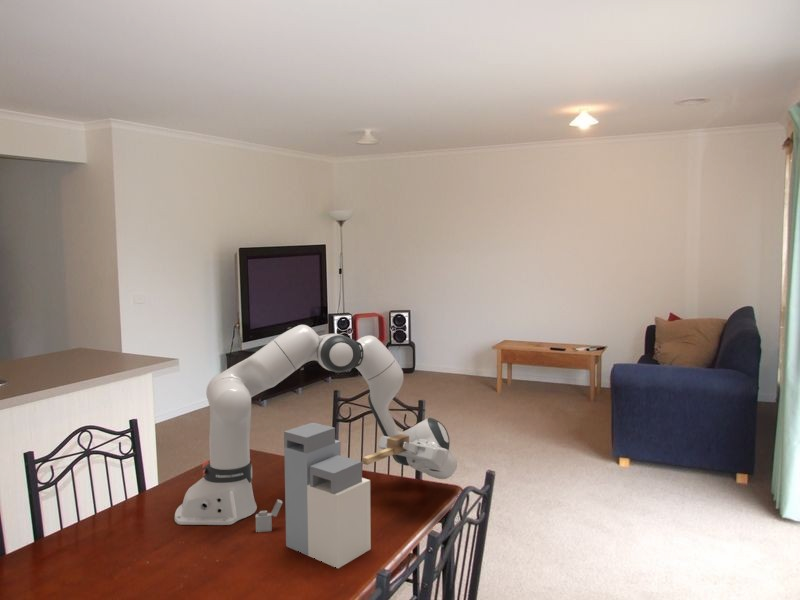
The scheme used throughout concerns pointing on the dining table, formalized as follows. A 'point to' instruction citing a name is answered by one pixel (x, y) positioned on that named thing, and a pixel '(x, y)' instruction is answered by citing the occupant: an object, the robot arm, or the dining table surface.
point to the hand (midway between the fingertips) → (396, 442)
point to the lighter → (267, 518)
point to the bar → (388, 449)
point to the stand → (324, 497)
